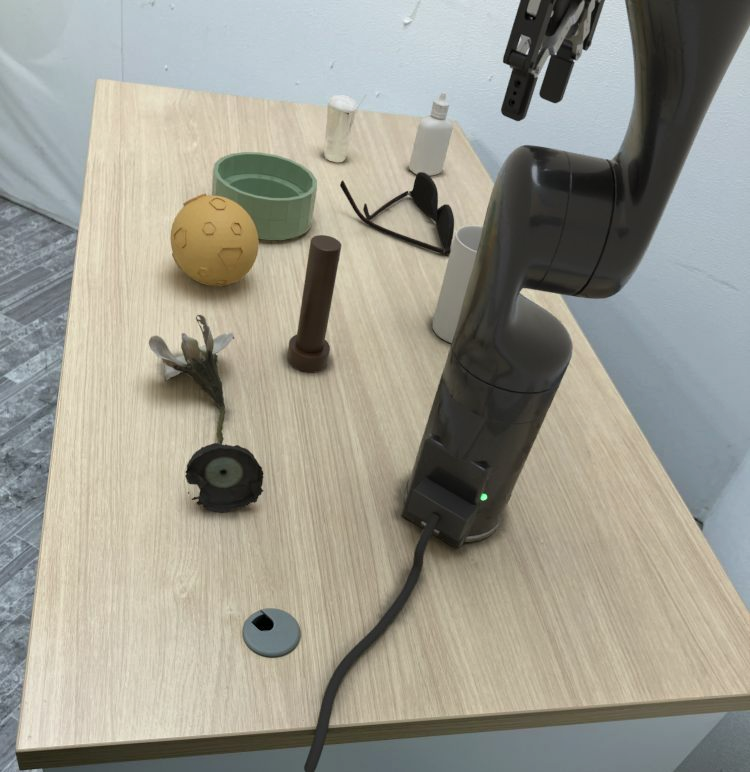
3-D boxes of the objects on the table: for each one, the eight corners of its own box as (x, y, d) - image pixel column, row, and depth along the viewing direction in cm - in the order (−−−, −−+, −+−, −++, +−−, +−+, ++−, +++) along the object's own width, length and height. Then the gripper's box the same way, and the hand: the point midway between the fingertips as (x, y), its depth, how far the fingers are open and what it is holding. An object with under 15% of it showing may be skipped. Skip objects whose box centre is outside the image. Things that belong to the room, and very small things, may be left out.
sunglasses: (327, 192, 117) (332, 158, 113) (419, 197, 122) (427, 165, 118) (357, 253, 106) (364, 218, 103) (457, 256, 111) (467, 222, 107)
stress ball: (191, 249, 99) (194, 169, 92) (266, 273, 99) (275, 195, 92) (154, 286, 92) (154, 203, 85) (235, 313, 91) (241, 231, 84)
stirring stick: (311, 377, 86) (331, 259, 76) (278, 359, 87) (294, 240, 77) (335, 361, 89) (357, 245, 79) (303, 343, 90) (321, 226, 80)
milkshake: (353, 167, 124) (365, 100, 117) (319, 161, 124) (329, 93, 117) (354, 155, 128) (366, 89, 121) (321, 149, 127) (330, 82, 120)
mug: (486, 351, 96) (518, 260, 87) (431, 343, 95) (458, 250, 86) (478, 305, 103) (506, 217, 94) (426, 297, 102) (451, 207, 93)
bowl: (270, 255, 102) (274, 210, 97) (190, 213, 105) (191, 168, 101) (329, 224, 110) (336, 181, 106) (254, 186, 114) (258, 143, 110)
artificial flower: (169, 525, 70) (134, 432, 63) (173, 387, 87) (146, 302, 80) (271, 506, 70) (247, 412, 64) (256, 372, 87) (236, 286, 81)
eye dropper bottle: (406, 162, 130) (423, 84, 121) (440, 168, 131) (459, 90, 122) (409, 174, 127) (427, 94, 118) (443, 180, 128) (463, 101, 119)
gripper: (610, -88, 58) (536, 140, 69) (668, -94, 67) (595, 108, 78) (518, -118, 60) (461, 108, 71) (587, -119, 69) (527, 81, 80)
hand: (531, 108), depth 75 cm, fingers open, 8 cm apart
